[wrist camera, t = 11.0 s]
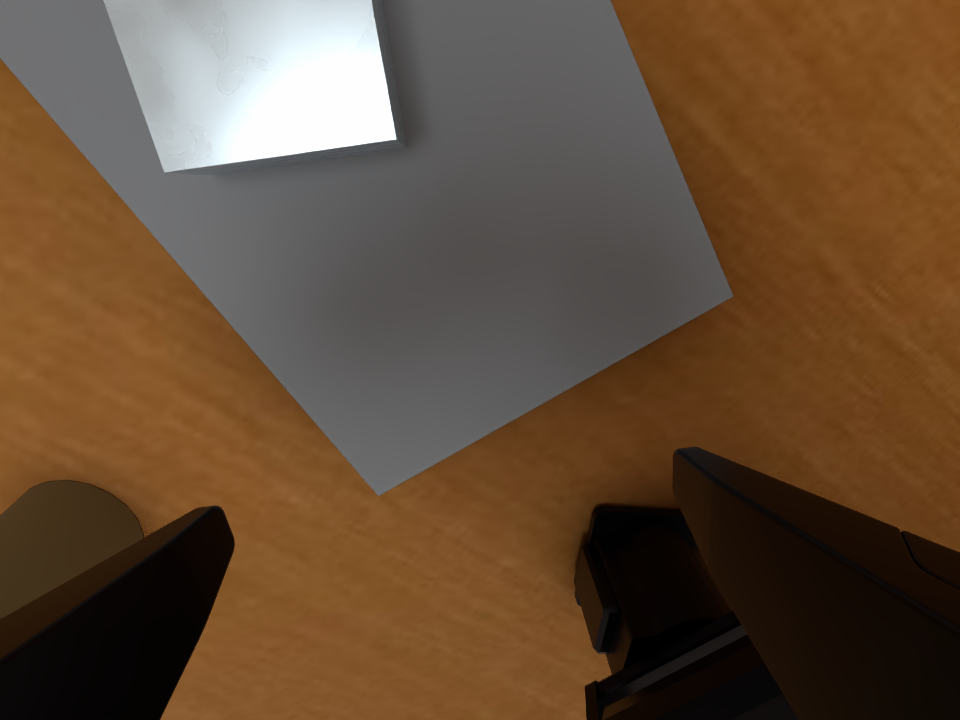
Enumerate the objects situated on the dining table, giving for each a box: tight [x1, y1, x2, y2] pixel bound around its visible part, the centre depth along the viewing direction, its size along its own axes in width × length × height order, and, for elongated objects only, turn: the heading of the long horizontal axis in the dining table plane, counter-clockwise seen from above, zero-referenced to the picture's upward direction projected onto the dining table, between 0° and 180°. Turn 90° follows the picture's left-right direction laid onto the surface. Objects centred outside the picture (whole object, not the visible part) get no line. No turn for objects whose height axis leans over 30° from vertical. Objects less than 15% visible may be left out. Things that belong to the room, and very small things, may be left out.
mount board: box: [0, 0, 733, 496], centre depth 16 cm, size 26×18×1 cm
